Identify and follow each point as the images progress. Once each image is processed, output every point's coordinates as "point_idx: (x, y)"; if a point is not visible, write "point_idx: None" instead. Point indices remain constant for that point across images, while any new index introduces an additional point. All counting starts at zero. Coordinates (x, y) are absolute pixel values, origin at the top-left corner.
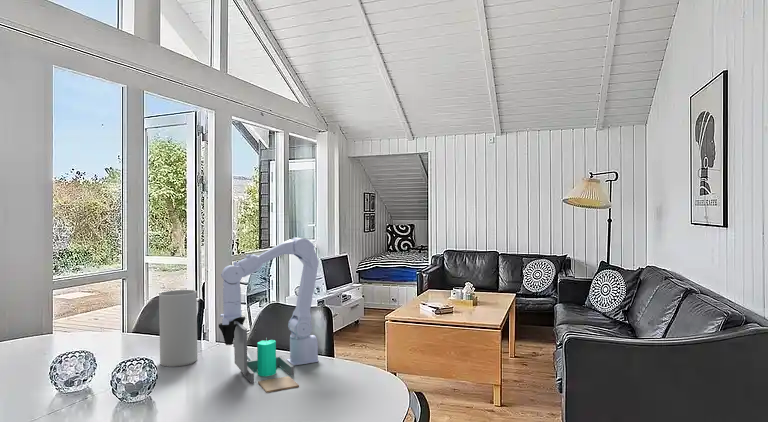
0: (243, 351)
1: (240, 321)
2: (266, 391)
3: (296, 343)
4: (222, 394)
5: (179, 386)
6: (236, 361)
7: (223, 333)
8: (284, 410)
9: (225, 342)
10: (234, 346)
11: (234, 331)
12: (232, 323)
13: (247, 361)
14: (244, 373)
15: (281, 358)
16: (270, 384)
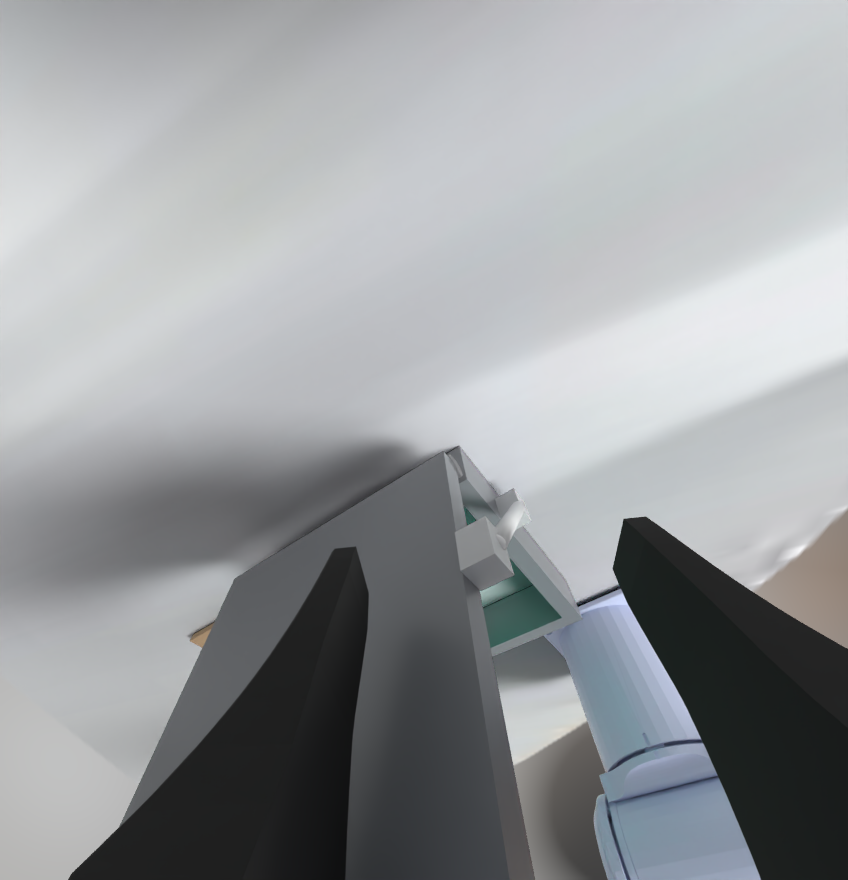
0: (176, 720)
1: (775, 864)
2: (192, 637)
3: (599, 739)
4: (80, 505)
5: (22, 146)
6: (390, 500)
7: (246, 706)
8: (80, 705)
9: (321, 575)
10: (454, 544)
11: (462, 728)
12: (809, 747)
13: (483, 510)
14: (233, 584)
15: (537, 630)
16: None
